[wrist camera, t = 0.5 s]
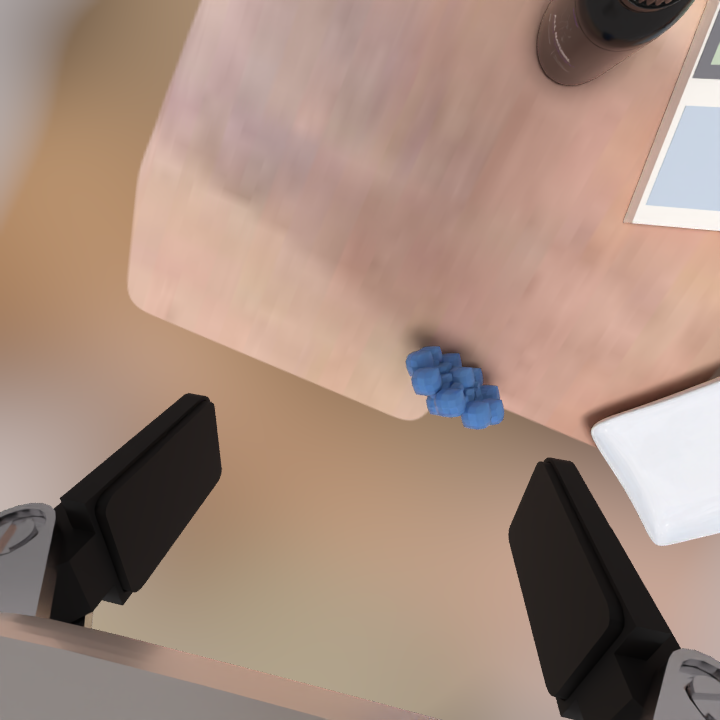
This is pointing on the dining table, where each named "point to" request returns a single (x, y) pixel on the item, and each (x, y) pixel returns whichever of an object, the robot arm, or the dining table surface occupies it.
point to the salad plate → (669, 461)
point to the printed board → (687, 143)
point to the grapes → (454, 388)
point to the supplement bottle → (599, 34)
